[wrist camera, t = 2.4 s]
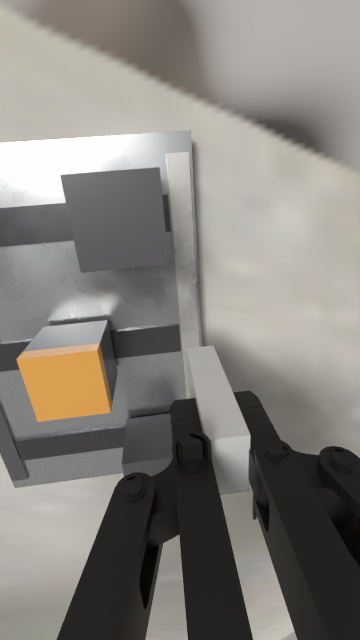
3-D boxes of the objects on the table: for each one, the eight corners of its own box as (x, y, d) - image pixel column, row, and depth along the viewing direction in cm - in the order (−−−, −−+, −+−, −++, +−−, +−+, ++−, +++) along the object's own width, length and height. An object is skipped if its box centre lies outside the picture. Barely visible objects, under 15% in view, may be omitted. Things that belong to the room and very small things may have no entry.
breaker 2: (133, 458, 23) (130, 507, 19) (126, 419, 21) (121, 464, 18) (183, 451, 23) (190, 498, 20) (179, 412, 22) (186, 455, 18)
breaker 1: (95, 256, 17) (80, 273, 13) (81, 180, 15) (60, 174, 12) (164, 250, 17) (168, 264, 13) (157, 174, 15) (159, 167, 12)
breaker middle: (58, 380, 20) (37, 421, 16) (43, 326, 18) (16, 359, 14) (117, 373, 20) (110, 412, 16) (107, 320, 18) (97, 350, 15)
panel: (22, 472, 25) (13, 490, 24) (-106, 156, 16) (-134, 151, 14) (204, 447, 26) (208, 463, 24) (187, 136, 17) (191, 129, 15)
